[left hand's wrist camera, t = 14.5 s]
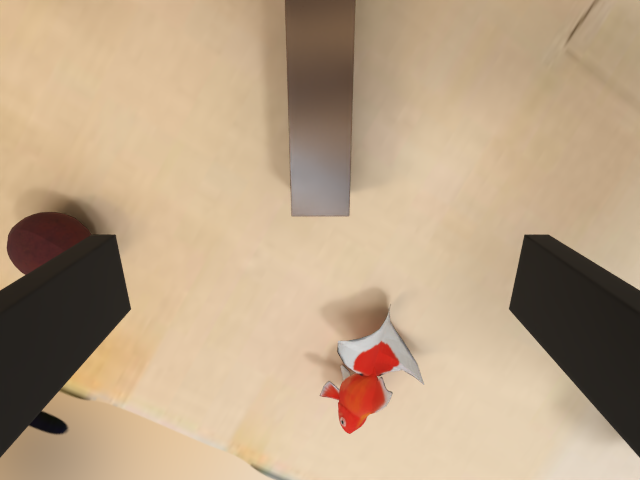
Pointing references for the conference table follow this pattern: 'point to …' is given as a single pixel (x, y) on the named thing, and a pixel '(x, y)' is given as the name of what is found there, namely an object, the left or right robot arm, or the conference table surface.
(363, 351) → the fish
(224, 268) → the conference table surface
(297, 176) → the plank
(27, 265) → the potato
